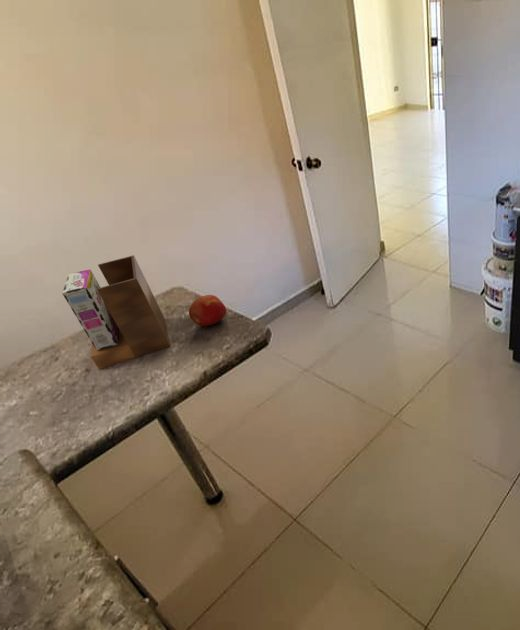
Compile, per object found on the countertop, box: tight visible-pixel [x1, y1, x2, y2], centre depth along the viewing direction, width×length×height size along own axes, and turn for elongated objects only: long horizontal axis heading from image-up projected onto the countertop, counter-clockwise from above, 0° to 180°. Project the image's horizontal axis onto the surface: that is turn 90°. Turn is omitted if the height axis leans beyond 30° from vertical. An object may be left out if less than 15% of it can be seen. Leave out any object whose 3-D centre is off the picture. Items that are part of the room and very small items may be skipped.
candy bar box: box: [61, 269, 119, 351], centre depth 105 cm, size 11×5×16 cm, turn 29°
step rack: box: [90, 255, 171, 370], centre depth 108 cm, size 16×15×20 cm
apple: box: [188, 294, 227, 327], centre depth 117 cm, size 8×8×8 cm
